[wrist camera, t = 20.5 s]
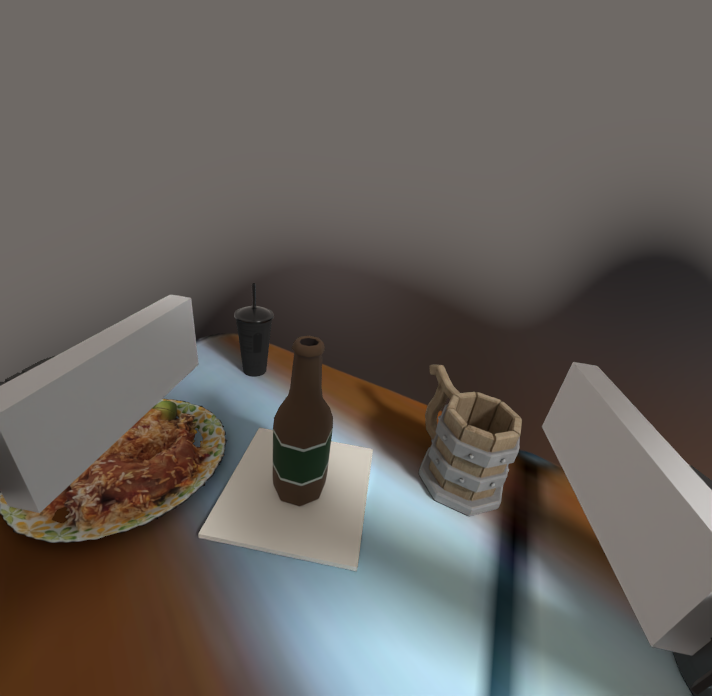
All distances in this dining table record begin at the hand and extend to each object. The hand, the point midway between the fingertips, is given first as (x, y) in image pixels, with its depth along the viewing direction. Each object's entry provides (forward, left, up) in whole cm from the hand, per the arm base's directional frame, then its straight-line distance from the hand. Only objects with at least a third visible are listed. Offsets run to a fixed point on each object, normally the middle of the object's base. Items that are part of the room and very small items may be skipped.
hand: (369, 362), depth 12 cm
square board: (+8, -24, -38) cm, 45 cm away
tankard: (-15, -35, -38) cm, 54 cm away
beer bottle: (+8, -24, -37) cm, 45 cm away
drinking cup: (+26, -52, -38) cm, 69 cm away
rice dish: (+34, -23, -38) cm, 56 cm away
